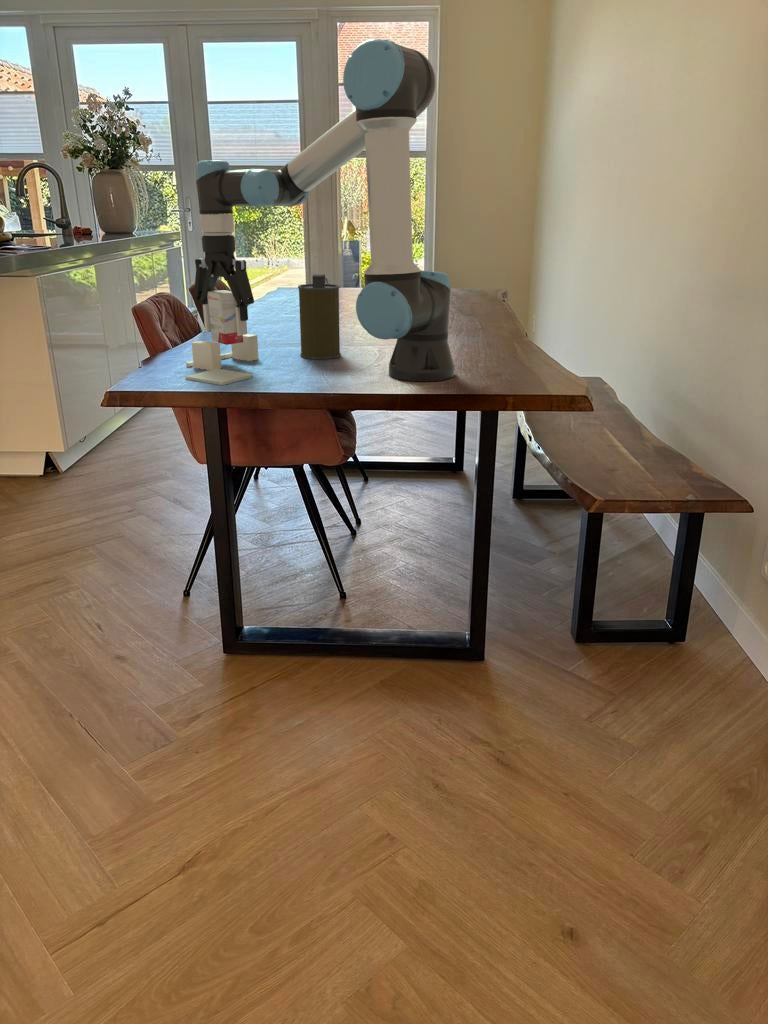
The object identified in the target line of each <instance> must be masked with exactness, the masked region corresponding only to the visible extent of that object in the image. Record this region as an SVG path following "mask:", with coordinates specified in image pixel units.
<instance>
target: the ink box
mask: <svg viewBox="0 0 768 1024" xmlns="http://www.w3.org/2000/svg"><path fill="white" fill-rule="evenodd" d="M207 298H208V307H209V317H210V327H211V332H210V335H211V340H212V341H211V342H215V343H220V344H222V345H226V346H227V345H229V346H230V345H231V344H236V343H242V342H243V335H241V336H238V335H237V324H236V311H235V307H236V306H237V305H238V304H237V302H236V300H235V298H234V296H233V294H232V292H231V290H225V289H222V290H221V289H220V290H214V291H208V294H207Z"/></svg>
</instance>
